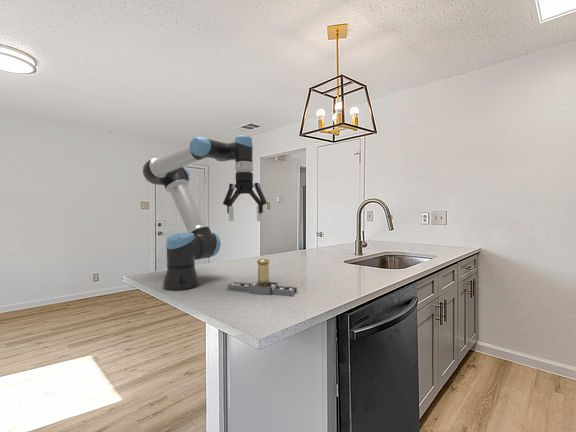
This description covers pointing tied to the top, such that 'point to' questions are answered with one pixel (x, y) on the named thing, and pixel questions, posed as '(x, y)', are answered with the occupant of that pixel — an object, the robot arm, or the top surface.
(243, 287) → the chain joint
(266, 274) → the pin
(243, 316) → the top surface
